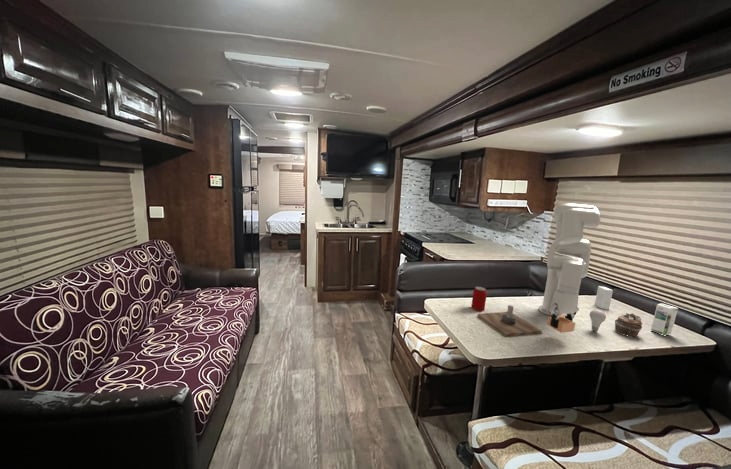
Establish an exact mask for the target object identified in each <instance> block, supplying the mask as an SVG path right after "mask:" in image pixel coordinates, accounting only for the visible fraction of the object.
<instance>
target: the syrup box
mask: <svg viewBox="0 0 731 469" xmlns="http://www.w3.org/2000/svg"><path fill="white" fill-rule="evenodd" d="M678 310H679V308H678V307H675V306H671V305H670V304H666V303H658V304H656V309H655V312H654V317H653V320H652V323H651V327H650V330H651V331H654V332H657V333H660V334H663V335H669V334H671V335H672V332H673V328H674V325H675V321H676V317H677V314H678ZM651 331H650V332H651ZM654 332H653V333H654ZM657 333H656V334H657ZM669 336H670V335H669Z"/></svg>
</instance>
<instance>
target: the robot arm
mask: <svg viewBox="0 0 731 469" xmlns="http://www.w3.org/2000/svg"><path fill="white" fill-rule="evenodd" d="M553 212H554V213H553V215H554V221H555V225H556V232H555V237H554V241H553V242H552V243H551V244H550V245H549V248H548V253H547V259H546V265H547V279H546V283H545V290H544V294H543V300H542V305H539V306H538V311H540V312H541V313H543V314H545V315H548V316H551V317H552V318H551V323H550V325H551V326H553V327H554V328H558V323H559V320H558V319H559V317H560V315H561V316H563V317H565V318H567V319H569V320H571V321H573V320H574V319H575V315H577V313H578V311H579V310H580V308H579V307H578V304H579V293H580V287H581V282H582V278H583V279H584V278H586V277H587V275H588V272H589V266H590V260H591V253H592V244H591V241H590V240H588V239H584V228H592V229H593V228H594V229H595V228H597V227H599V225H600V223H601V214H600V211H599V209H598V208H597V207H596V206H594V205H590V204H589V205H588V204H578V203H558V204H557V205H555V207H554V211H553ZM551 326H550V327H551ZM554 328H553V329H554Z"/></svg>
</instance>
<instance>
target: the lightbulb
mask: <svg viewBox="0 0 731 469" xmlns="http://www.w3.org/2000/svg"><path fill="white" fill-rule="evenodd" d="M606 318H607V316H606V313H605V312H604V311H602V309H597V308H595V309H592V310H591V311H590V312H589V319H590V321H591V323H590V324H591V327H590V328H591V330H592V331H593V332H598V331H599V328H600V327H601V325H602V324H603V323H604V322H605V320H606Z"/></svg>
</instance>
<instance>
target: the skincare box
mask: <svg viewBox="0 0 731 469" xmlns="http://www.w3.org/2000/svg"><path fill="white" fill-rule="evenodd" d="M613 293H614V290H613V289H611V288H608V287H606V286H600V285H598V287H597V292H596V296H595V302H594V306H595V307H597V308H599V309H600V310H610V308H611V307H610V305H611V302H612V296H613Z"/></svg>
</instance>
